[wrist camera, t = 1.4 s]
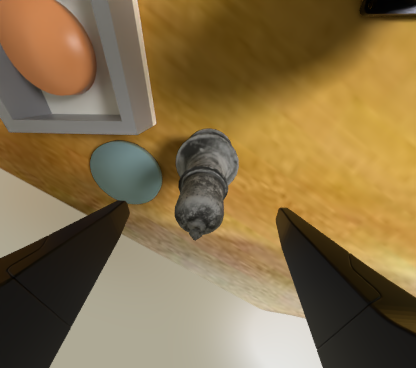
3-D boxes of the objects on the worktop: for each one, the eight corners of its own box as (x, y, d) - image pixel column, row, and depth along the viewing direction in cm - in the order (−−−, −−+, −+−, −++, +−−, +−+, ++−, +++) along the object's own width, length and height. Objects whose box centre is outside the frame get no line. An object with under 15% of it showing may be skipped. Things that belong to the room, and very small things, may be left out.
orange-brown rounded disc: (78, -7, 10) (62, -17, 9) (106, 95, 13) (97, 95, 12) (-5, -5, 10) (-30, -15, 9) (41, 94, 13) (26, 95, 12)
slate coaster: (156, 141, 18) (153, 143, 17) (166, 201, 22) (164, 205, 21) (83, 139, 18) (78, 141, 17) (107, 199, 22) (104, 202, 22)
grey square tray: (130, -45, 11) (81, -118, 7) (156, 124, 17) (137, 134, 13) (-19, -39, 11) (-139, -104, 8) (56, 122, 17) (9, 132, 13)
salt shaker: (225, 181, 20) (232, 282, 9) (179, 168, 19) (132, 261, 9) (243, 134, 17) (282, 209, 6) (188, 118, 16) (135, 171, 6)
